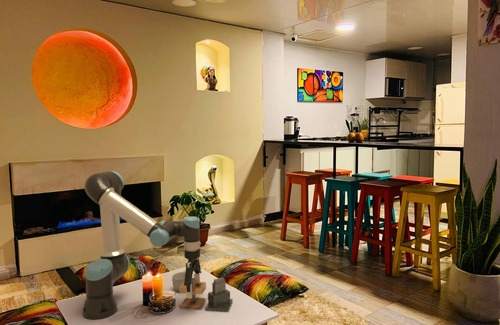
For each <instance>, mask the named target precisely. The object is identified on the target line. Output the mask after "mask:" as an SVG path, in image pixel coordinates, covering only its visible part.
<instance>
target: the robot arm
mask: <svg viewBox="0 0 500 325" xmlns="http://www.w3.org/2000/svg"><path fill="white" fill-rule="evenodd" d="M124 180H125V179H124V177H122V175H121V174H120V173H118V172H117V171H113V170H112V171H111V170H107V171H106V170H105V171H102V172H98V173H93V174H91V175H89V176H88V177H87V179H86V180H85V182H84V190H85V193H86V195H87V196H88V197H89V198H90V200H92V201H93V202H94V203H96V204H97V205H99V210H100V222H101V223H100V224H101V236H102V249H103V250H102V252H100V259H96V260H93V261H91V262H89V263H88V264H87V265H86V266H85V273H84V276H85V293H86V294H85V296H86V298H85V302H84V305H83V307H82V316H83V318H85V319H88V320H101V319H105V318H109V317H111V316H113V315H115V314H116V313H117V311H118V303H117V300H116V298H115V295H114V287H113V286H114V284H113V283H115V282H116V281H118V280H119V279H121V278H122V277H123V276H125V275H126V273H127V272H128V270H129V269H130V265H131V264H130V258H129V256H127V254H126V250H125V249H123V248H122V237H121V236H122V235H121V234H122V233H121V224H120V223H121V222H120V219H122V220H124V221H126V222H127V223H129V224H130V225H131V226H133V227H134V228H135V229H137V230H138V231H140V232H141V233H142V234H144V235H145V236H147V237H148V238H149V241H150V244H151V245H153V246H154V247H159V248H160V247H162V246H164V245H166V244H167V243H168V242H169V241H171V240H172V239H174V238H183V249H184V250H183V251H184V252H183V253H184V258H185V259H186V260H187V262H186V263H185V270H184V271H185V280H184V285H186V295H185V298H192V284H191V281H192V278H195V282H201V281H200V280H201V274H202V268H201V263H200V257H201V249H200V248H201V245H202V242H200V240H201V238H200V237H201V236H200V234H201V232H200V226H201V225H200V220H199V218H198V216H186V217H184V218H183V221H178V220H175V221H174V220H162V221H160V222H157V221H156V220H155V219H153V217H150V216H149V215H148V214H147V213H145V212H144V211H142V210H141V209H139V208H138V207H137V206H135V205H134V204H132V203H131V202H130V201H128V200H126V199H125V198H124V197H123V196H122V190H123V188H124V186H125V182H124ZM193 273H194V274H193Z"/></svg>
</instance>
